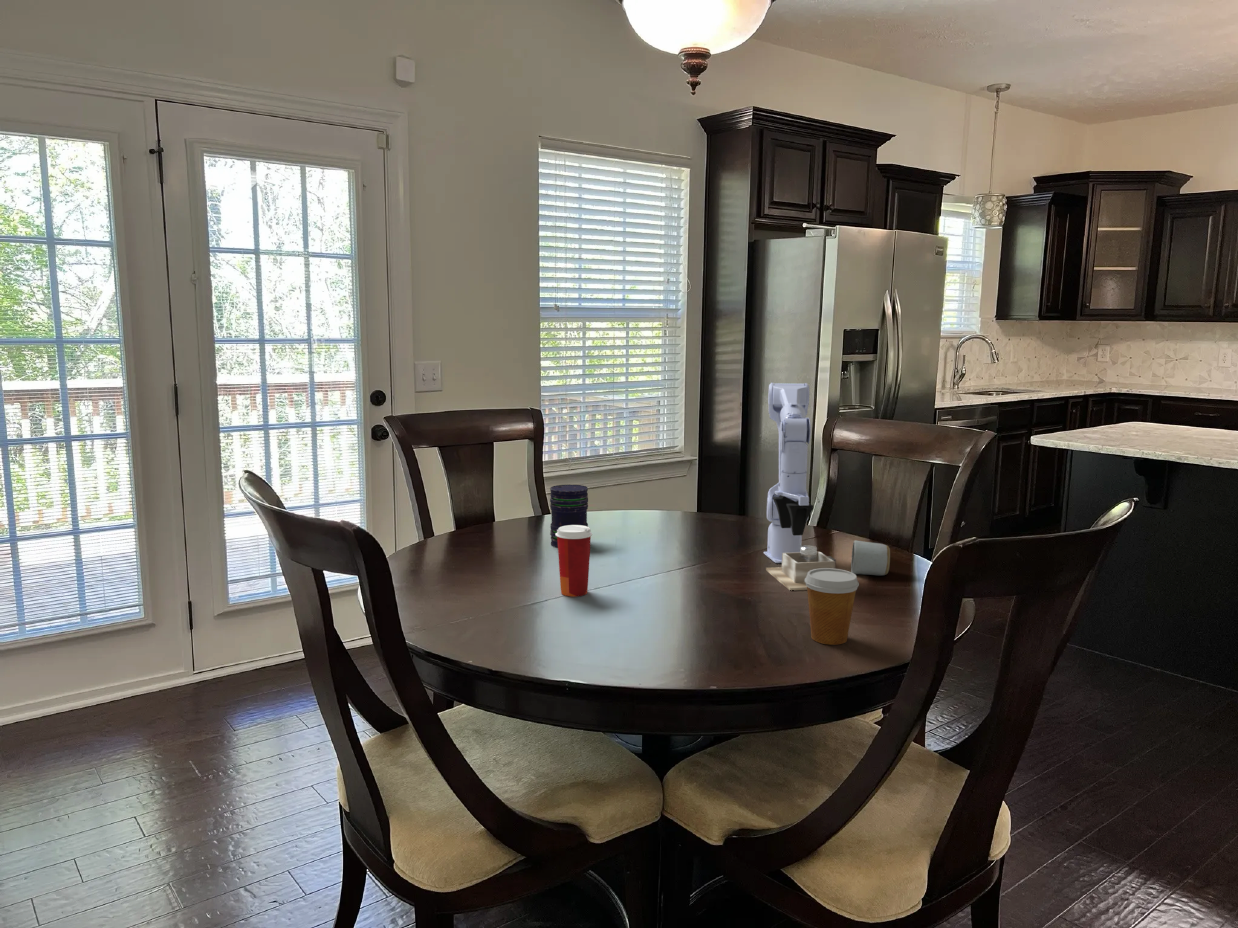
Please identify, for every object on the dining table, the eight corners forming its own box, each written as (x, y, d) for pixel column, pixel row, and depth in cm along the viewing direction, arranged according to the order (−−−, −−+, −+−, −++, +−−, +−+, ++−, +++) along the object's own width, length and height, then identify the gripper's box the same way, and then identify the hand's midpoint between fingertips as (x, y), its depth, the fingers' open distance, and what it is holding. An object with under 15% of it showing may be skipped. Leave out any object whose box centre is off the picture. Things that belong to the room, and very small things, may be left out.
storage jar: (595, 542, 225) (595, 486, 223) (573, 550, 217) (573, 492, 215) (564, 537, 231) (564, 483, 228) (542, 545, 223) (542, 488, 220)
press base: (766, 570, 200) (766, 549, 199) (823, 568, 202) (824, 547, 201) (789, 590, 185) (790, 568, 184) (851, 587, 187) (852, 565, 186)
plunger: (788, 571, 196) (789, 544, 195) (815, 570, 197) (817, 543, 196) (798, 580, 190) (799, 551, 189) (827, 578, 191) (828, 550, 190)
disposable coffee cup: (795, 630, 160) (798, 567, 158) (845, 629, 161) (848, 566, 159) (811, 649, 151) (814, 582, 149) (864, 647, 151) (867, 581, 150)
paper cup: (597, 589, 185) (597, 525, 183) (584, 599, 178) (584, 533, 176) (563, 585, 187) (563, 523, 185) (549, 595, 180) (549, 530, 178)
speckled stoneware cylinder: (889, 579, 193) (891, 546, 192) (852, 577, 195) (853, 544, 194) (884, 567, 203) (886, 536, 202) (849, 565, 205) (850, 534, 204)
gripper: (766, 467, 199) (764, 525, 200) (787, 477, 184) (785, 538, 186) (795, 467, 200) (793, 524, 201) (818, 476, 185) (816, 538, 187)
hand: (791, 531), depth 194 cm, fingers open, 7 cm apart
